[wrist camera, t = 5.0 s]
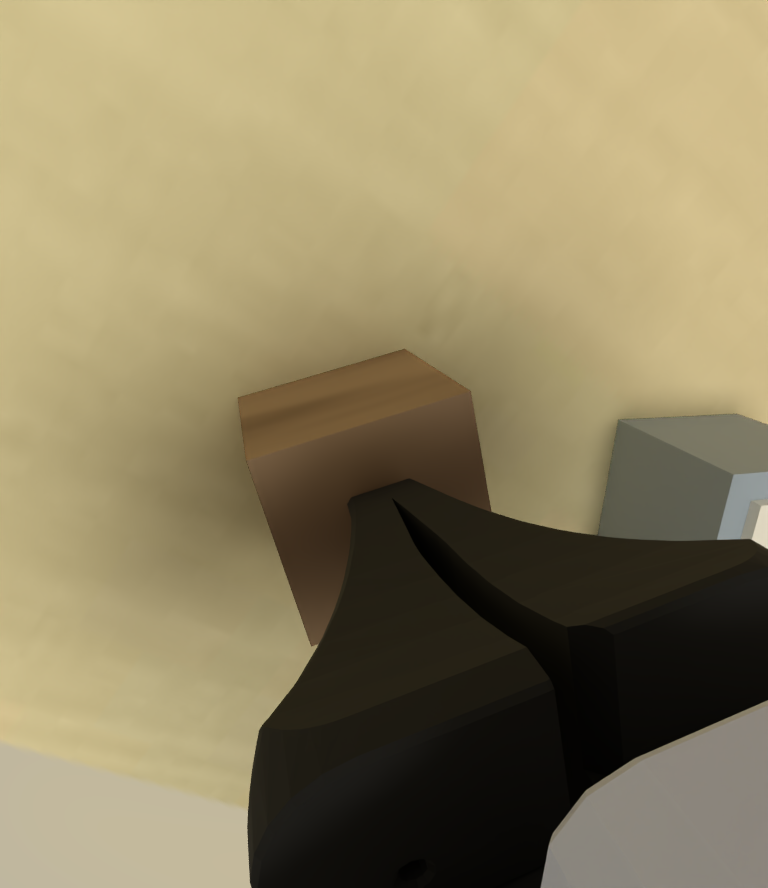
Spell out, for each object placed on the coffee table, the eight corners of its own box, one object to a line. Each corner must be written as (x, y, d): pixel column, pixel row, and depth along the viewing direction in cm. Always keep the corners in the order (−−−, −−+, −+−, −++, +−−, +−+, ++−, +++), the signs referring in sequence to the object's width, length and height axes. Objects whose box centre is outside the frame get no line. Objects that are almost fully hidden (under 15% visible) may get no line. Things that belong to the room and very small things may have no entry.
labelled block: (704, 534, 21) (833, 615, 16) (594, 547, 20) (701, 638, 15) (735, 412, 19) (886, 467, 15) (617, 419, 18) (743, 479, 14)
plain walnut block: (435, 494, 17) (502, 575, 13) (287, 543, 17) (311, 646, 13) (403, 348, 16) (470, 391, 12) (237, 397, 15) (246, 460, 11)
